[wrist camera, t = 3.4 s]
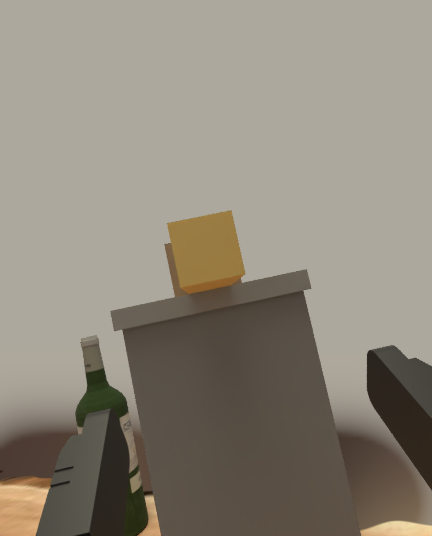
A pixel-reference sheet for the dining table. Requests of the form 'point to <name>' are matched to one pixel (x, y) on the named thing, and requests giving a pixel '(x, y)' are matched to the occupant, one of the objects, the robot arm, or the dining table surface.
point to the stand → (237, 413)
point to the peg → (204, 254)
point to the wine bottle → (107, 398)
